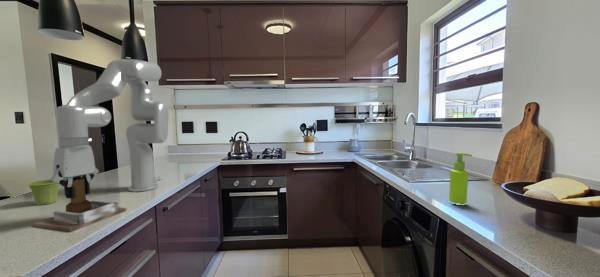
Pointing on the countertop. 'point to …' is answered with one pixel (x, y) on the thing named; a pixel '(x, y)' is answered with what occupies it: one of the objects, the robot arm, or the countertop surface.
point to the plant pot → (44, 191)
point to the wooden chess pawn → (78, 197)
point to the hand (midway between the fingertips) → (78, 195)
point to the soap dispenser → (459, 181)
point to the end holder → (81, 216)
